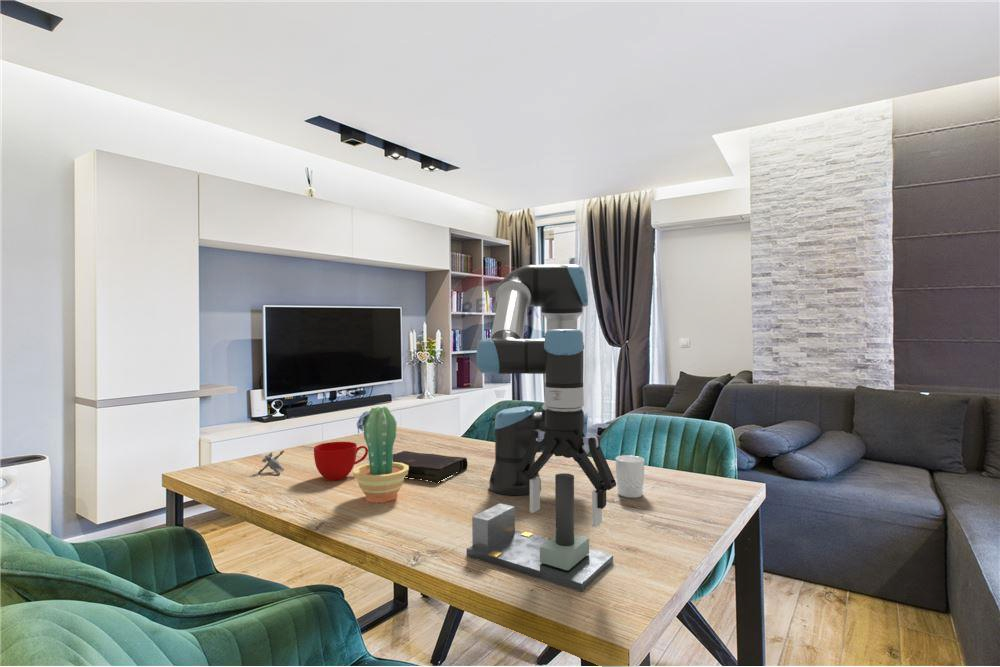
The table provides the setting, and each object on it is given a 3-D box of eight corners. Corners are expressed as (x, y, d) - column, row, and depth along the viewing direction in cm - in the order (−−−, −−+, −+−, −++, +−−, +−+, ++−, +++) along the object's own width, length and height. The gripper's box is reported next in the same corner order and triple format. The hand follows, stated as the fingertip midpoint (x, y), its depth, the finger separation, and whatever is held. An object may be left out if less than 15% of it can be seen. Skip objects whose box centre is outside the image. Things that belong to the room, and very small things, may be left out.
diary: (405, 463, 183) (405, 449, 183) (467, 471, 173) (467, 456, 173) (371, 476, 166) (371, 460, 167) (438, 485, 156) (438, 469, 156)
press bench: (466, 555, 106) (466, 519, 106) (505, 533, 118) (504, 500, 118) (581, 592, 92) (581, 549, 91) (613, 562, 103) (612, 524, 103)
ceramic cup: (375, 476, 164) (374, 445, 164) (320, 486, 155) (320, 452, 155) (361, 468, 175) (360, 438, 175) (309, 476, 165) (309, 445, 165)
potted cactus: (383, 485, 155) (383, 402, 155) (421, 494, 146) (420, 406, 146) (340, 499, 142) (340, 408, 142) (379, 510, 133) (378, 413, 133)
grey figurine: (262, 479, 163) (250, 464, 169) (272, 488, 168) (260, 473, 173) (288, 455, 168) (275, 442, 173) (298, 465, 172) (285, 452, 177)
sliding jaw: (540, 562, 99) (539, 478, 99) (562, 546, 107) (562, 468, 107) (568, 570, 96) (567, 484, 96) (589, 553, 103) (588, 472, 103)
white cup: (645, 499, 141) (645, 462, 141) (615, 497, 143) (615, 461, 143) (643, 490, 149) (643, 455, 149) (615, 489, 150) (615, 454, 150)
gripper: (500, 405, 105) (501, 510, 105) (617, 416, 91) (618, 537, 91) (520, 401, 111) (521, 500, 111) (633, 411, 97) (633, 524, 97)
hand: (564, 517), depth 101 cm, fingers open, 13 cm apart
